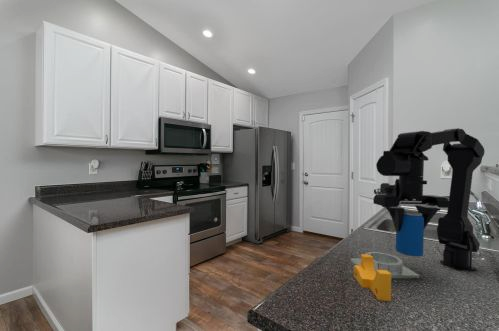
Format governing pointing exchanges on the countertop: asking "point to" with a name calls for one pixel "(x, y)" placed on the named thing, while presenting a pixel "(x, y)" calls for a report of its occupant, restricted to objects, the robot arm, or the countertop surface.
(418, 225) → the beverage can
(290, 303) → the countertop surface
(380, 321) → the countertop surface
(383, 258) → the duct collar
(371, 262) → the pipe clamp
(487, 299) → the countertop surface
